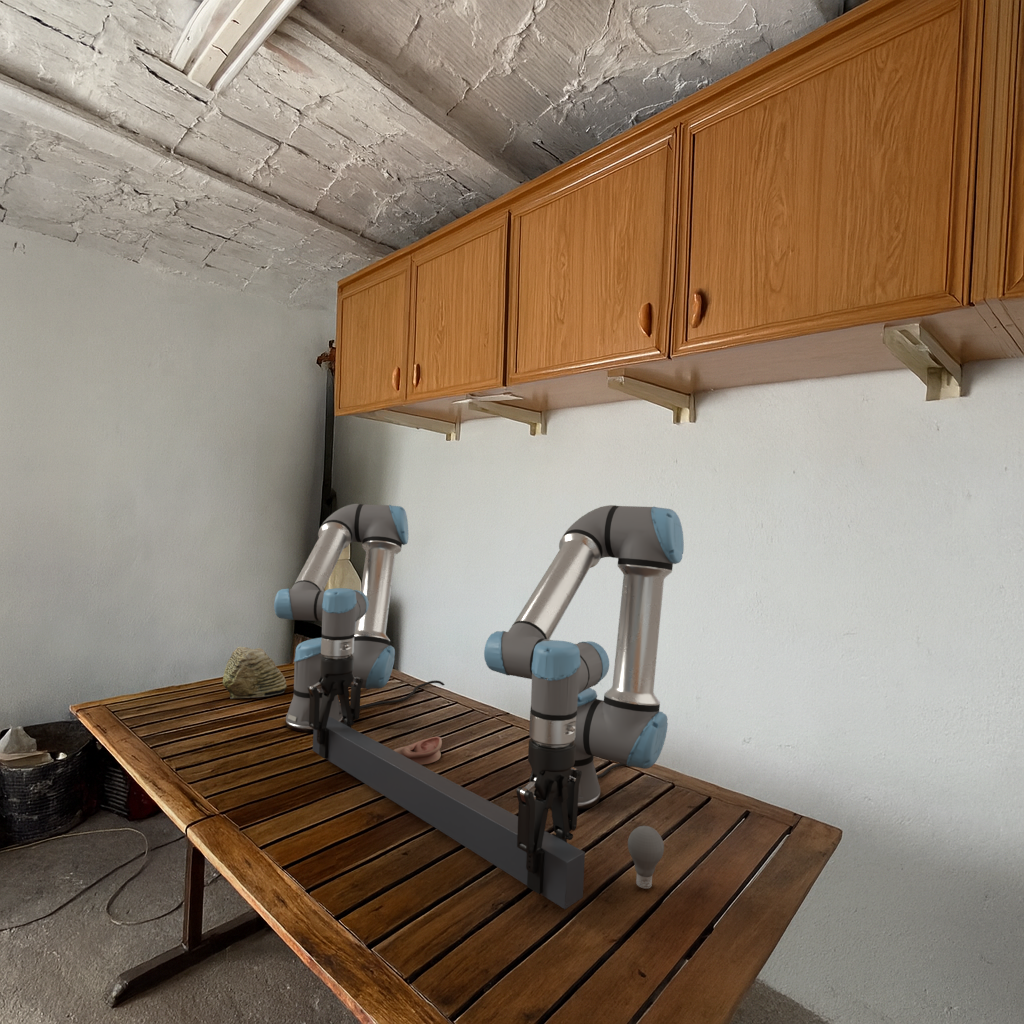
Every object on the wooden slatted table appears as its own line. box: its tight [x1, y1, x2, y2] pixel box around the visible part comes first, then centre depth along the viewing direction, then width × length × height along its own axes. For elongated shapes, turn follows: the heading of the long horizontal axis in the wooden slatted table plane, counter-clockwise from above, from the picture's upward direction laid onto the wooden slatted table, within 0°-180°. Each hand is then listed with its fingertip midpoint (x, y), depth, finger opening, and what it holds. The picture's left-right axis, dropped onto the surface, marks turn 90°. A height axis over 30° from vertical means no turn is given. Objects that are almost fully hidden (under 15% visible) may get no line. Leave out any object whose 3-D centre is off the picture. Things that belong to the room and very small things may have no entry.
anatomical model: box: [393, 736, 443, 766], centre depth 156 cm, size 13×4×12 cm
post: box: [312, 717, 586, 910], centre depth 126 cm, size 79×4×7 cm, turn 45°
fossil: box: [222, 646, 288, 699], centre depth 198 cm, size 9×18×15 cm, turn 132°
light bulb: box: [627, 825, 665, 890], centre depth 107 cm, size 6×6×10 cm
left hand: (333, 753), depth 149 cm, fingers closed on post, 4 cm apart
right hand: (545, 882), depth 102 cm, fingers closed on post, 4 cm apart
